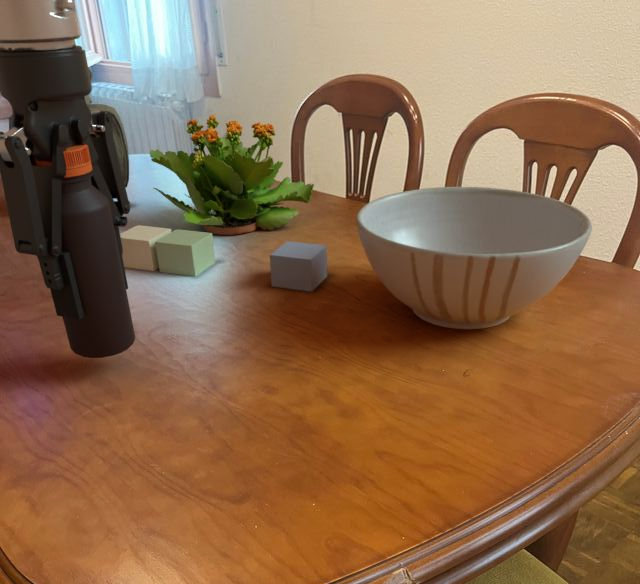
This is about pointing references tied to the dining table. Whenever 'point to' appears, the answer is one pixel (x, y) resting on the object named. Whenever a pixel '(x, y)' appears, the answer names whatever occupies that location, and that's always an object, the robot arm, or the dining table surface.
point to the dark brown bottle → (93, 262)
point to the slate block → (298, 266)
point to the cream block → (142, 246)
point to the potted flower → (232, 181)
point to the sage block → (185, 252)
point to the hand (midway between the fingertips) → (94, 301)
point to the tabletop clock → (115, 136)
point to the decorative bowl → (471, 250)
